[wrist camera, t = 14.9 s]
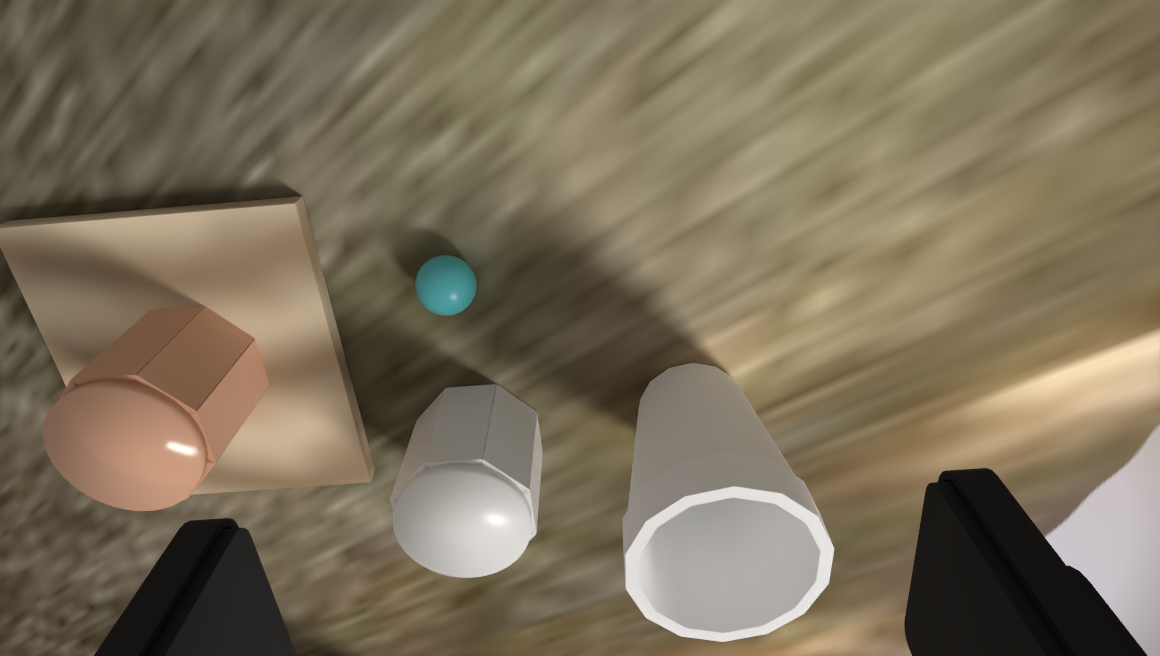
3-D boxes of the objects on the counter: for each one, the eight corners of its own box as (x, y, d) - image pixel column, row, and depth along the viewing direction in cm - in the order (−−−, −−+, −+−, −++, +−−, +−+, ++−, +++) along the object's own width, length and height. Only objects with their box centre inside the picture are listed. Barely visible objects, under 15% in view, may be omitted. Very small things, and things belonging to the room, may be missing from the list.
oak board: (7, 221, 40) (-9, 228, 39) (302, 196, 39) (294, 203, 38) (129, 486, 48) (119, 499, 47) (375, 469, 48) (370, 482, 47)
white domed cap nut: (409, 390, 45) (377, 476, 38) (532, 381, 45) (523, 466, 38) (431, 487, 48) (405, 582, 41) (546, 479, 48) (540, 574, 41)
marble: (416, 248, 41) (404, 272, 38) (475, 243, 41) (467, 267, 38) (427, 301, 42) (416, 328, 39) (483, 297, 42) (476, 323, 39)
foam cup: (598, 457, 47) (604, 626, 36) (630, 328, 43) (648, 473, 31) (745, 479, 48) (796, 651, 37) (790, 355, 44) (864, 506, 32)
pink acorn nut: (111, 312, 41) (13, 391, 34) (243, 303, 41) (173, 380, 34) (157, 424, 45) (76, 516, 38) (279, 416, 44) (222, 508, 37)
